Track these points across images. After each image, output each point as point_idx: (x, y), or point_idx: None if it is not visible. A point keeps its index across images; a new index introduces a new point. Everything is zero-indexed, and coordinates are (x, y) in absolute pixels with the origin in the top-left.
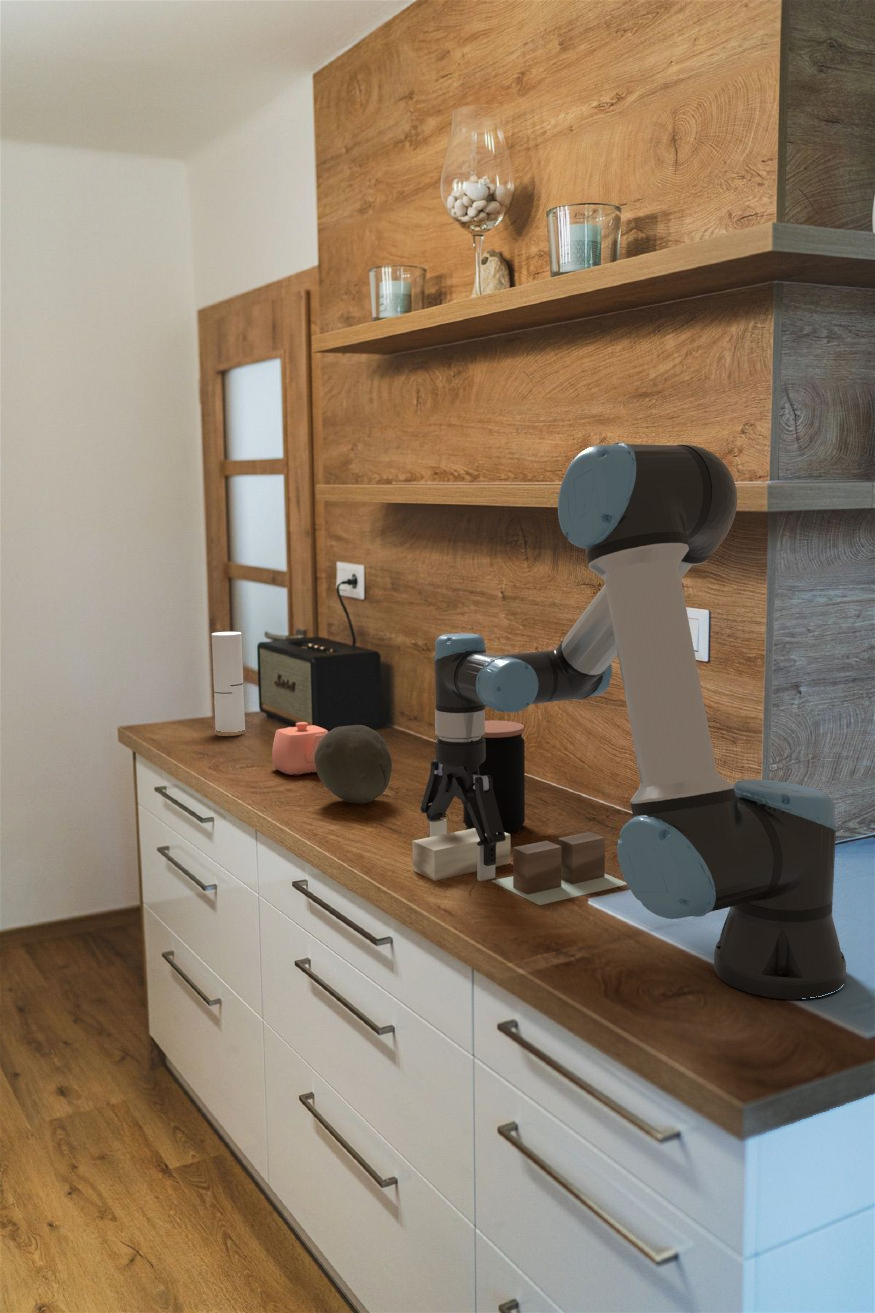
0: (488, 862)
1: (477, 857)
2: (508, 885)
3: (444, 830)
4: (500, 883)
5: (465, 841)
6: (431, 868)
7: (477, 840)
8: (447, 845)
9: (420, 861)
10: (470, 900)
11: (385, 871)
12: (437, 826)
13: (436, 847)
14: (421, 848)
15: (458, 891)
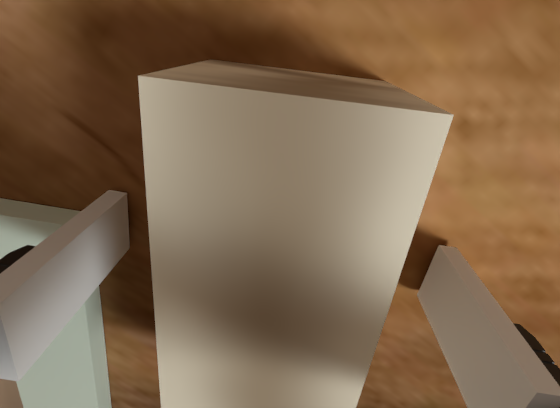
0: (5, 256)
1: (51, 253)
2: (3, 236)
3: (469, 390)
4: (34, 231)
5: (191, 327)
6: (215, 69)
7: (172, 369)
8: (187, 219)
9: (327, 83)
10: (14, 77)
11: (556, 41)
12: (501, 388)
13: (193, 139)
14: (320, 95)
15: (129, 112)
